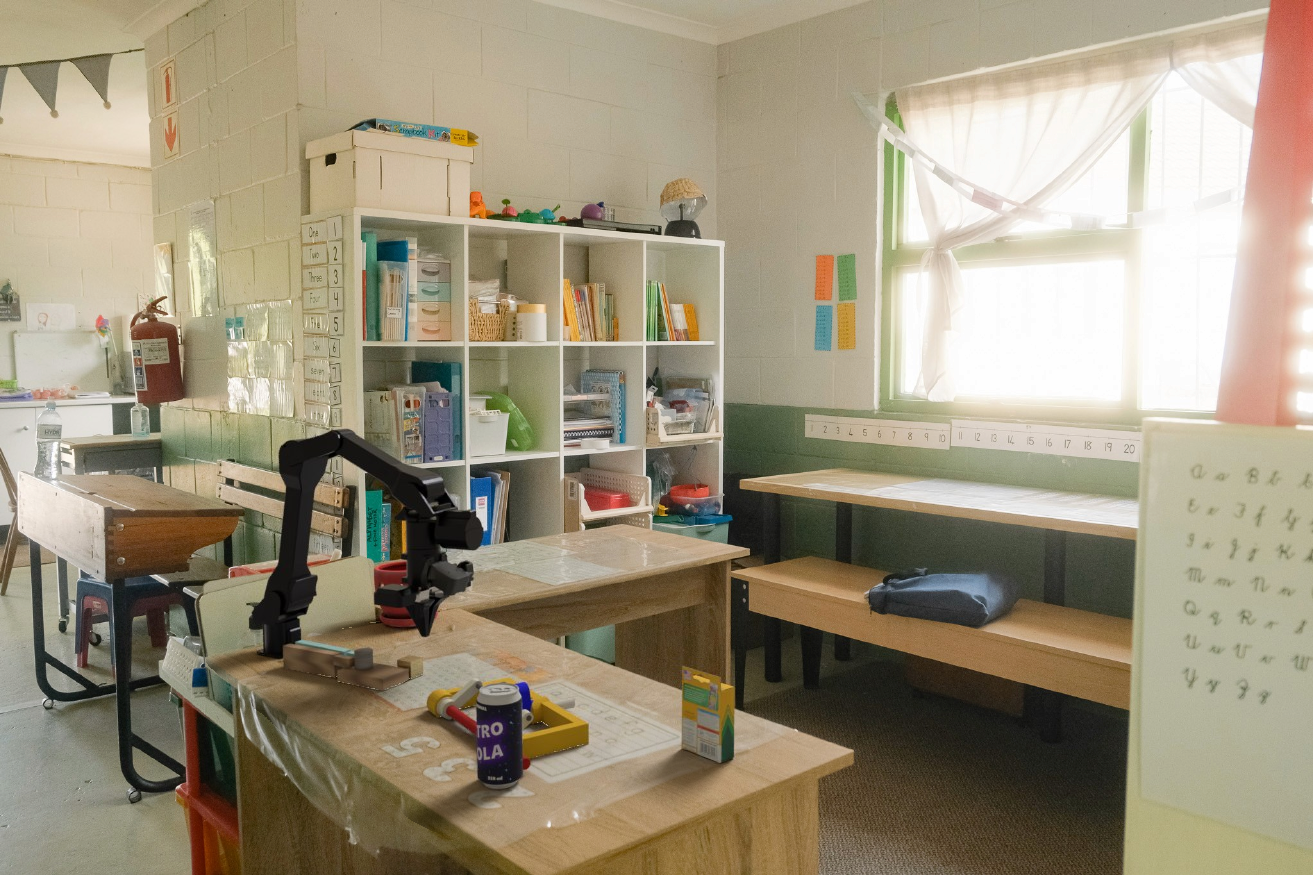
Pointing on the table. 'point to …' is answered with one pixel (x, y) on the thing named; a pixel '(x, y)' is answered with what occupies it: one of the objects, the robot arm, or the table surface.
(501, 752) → the beverage can
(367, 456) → the robot arm
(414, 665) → the block
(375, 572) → the plant pot
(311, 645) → the bar
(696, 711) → the crayon box
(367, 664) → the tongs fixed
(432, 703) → the mechanical clamp
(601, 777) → the table surface
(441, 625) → the table surface
